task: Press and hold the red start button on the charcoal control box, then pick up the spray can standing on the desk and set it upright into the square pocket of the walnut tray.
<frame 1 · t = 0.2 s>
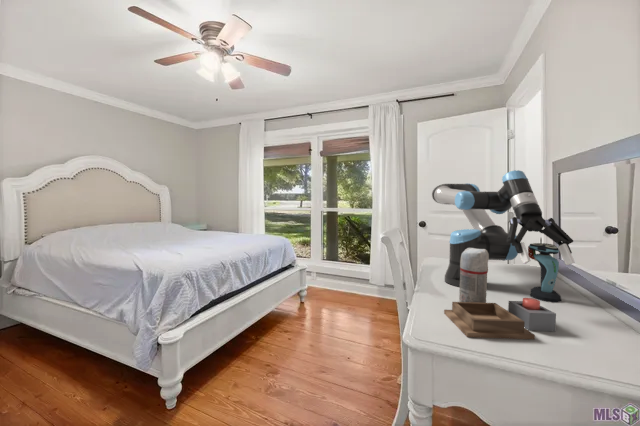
hand: (548, 263, 87), 16 cm above the table, tool tilted 35°, fingers open, 13 cm apart
walnut tray: (484, 325, 78), on the table
teal power drill: (542, 297, 102), on the table
control box: (530, 323, 79), on the table
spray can: (472, 308, 90), on the table
start button: (531, 304, 79), point 6 cm above the table, slide at 0.0 cm
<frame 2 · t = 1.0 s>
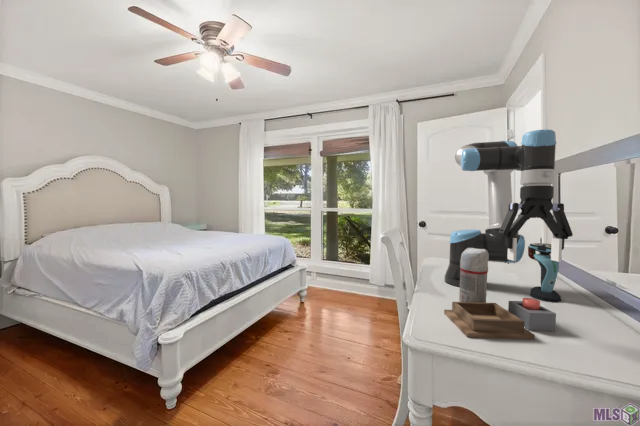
hand: (533, 260, 78), 19 cm above the table, tool pointing down, fingers open, 12 cm apart
nothing on the table moved.
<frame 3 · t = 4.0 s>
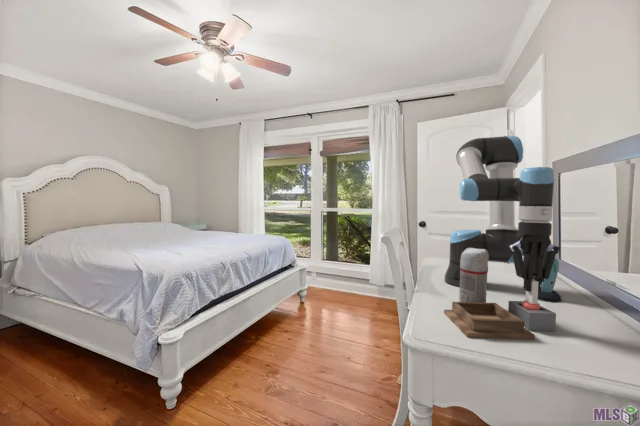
hand: (531, 302, 78), 6 cm above the table, tool pointing down, fingers closed
start button: (530, 307, 79), point 5 cm above the table, slide at 0.8 cm, touching gripper
everything else where it was.
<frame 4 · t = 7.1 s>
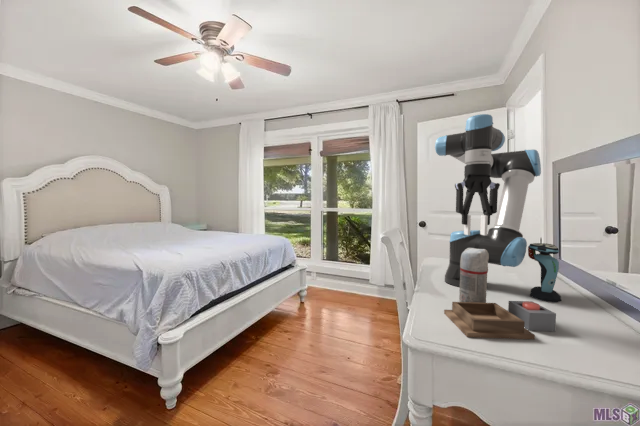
hand: (475, 234, 89), 25 cm above the table, tool pointing down, fingers open, 5 cm apart
start button: (530, 308, 79), point 5 cm above the table, slide at 1.1 cm
everything else where it was.
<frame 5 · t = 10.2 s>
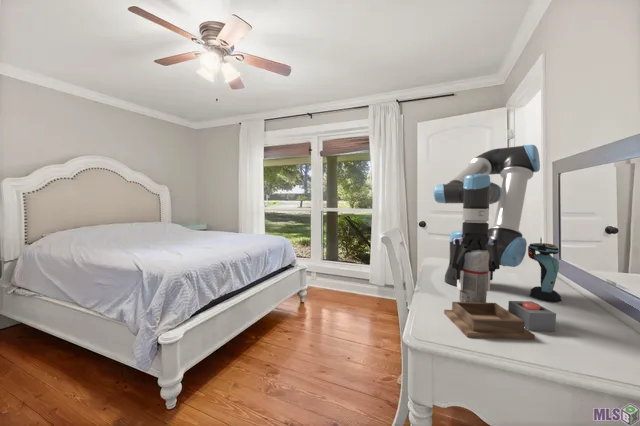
hand: (473, 289, 90), 6 cm above the table, tool pointing down, fingers closed on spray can, 8 cm apart
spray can: (472, 308, 90), on the table, touching gripper
everything else where it was.
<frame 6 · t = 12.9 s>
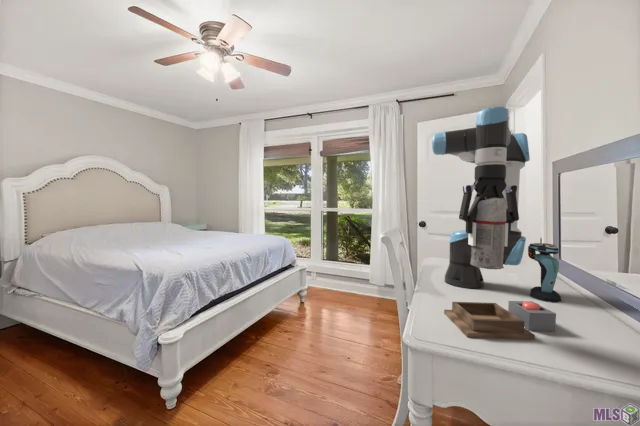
hand: (487, 245, 77), 23 cm above the table, tool pointing down, fingers closed on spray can, 8 cm apart
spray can: (486, 267, 77), point 17 cm above the table, touching gripper
everything else where it was.
when the fingers open (9 cm above the table, at t = 15.9 s): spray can drops 1 cm, resting on walnut tray.
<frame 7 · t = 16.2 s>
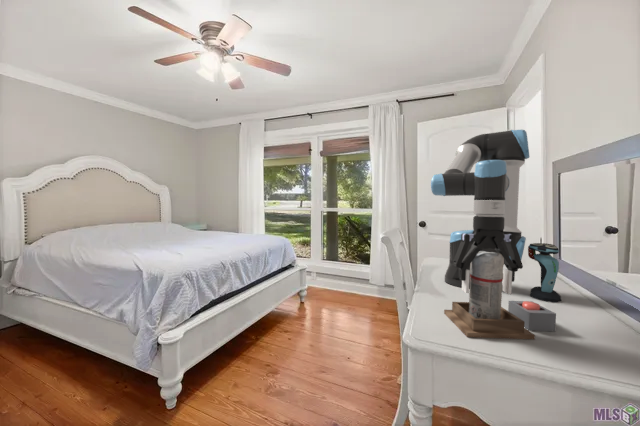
hand: (485, 292, 77), 10 cm above the table, tool pointing down, fingers open, 11 cm apart
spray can: (484, 321, 78), point 1 cm above the table, touching walnut tray
everything else where it was.
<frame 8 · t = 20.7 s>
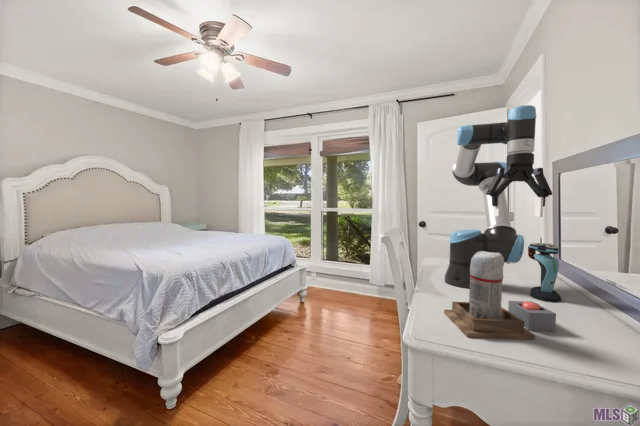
hand: (517, 216, 92), 31 cm above the table, tool pointing down, fingers open, 13 cm apart
nothing on the table moved.
at the end: start button slide at 1.1 cm; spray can 0.1 cm off-centre on the walnut tray, point 1.0 cm above the walnut tray's base; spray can tilted 0° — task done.
